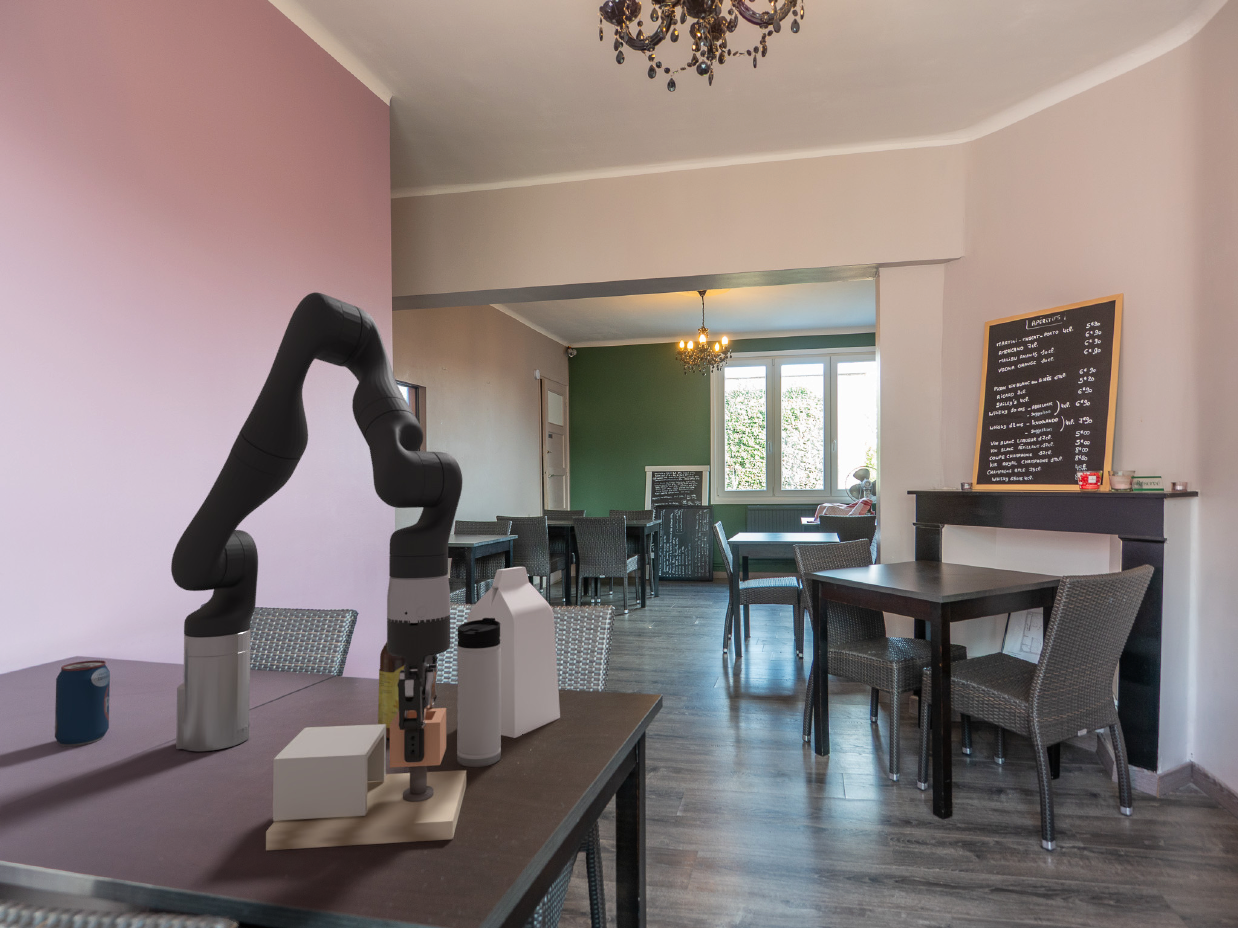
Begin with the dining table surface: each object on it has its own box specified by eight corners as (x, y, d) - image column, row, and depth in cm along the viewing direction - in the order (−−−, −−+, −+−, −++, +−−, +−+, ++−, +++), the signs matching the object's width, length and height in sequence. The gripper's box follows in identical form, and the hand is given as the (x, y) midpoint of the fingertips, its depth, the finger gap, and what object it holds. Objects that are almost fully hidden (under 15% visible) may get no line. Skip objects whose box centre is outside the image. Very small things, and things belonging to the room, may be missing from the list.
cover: (272, 820, 80) (273, 758, 81) (304, 781, 91) (305, 727, 92) (365, 815, 82) (365, 754, 82) (385, 777, 93) (385, 723, 93)
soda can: (118, 736, 117) (119, 661, 117) (70, 750, 110) (72, 671, 111) (92, 730, 119) (94, 657, 120) (44, 743, 113) (46, 666, 114)
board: (265, 850, 78) (266, 789, 79) (309, 793, 93) (310, 742, 94) (452, 838, 81) (452, 780, 81) (466, 785, 96) (466, 735, 96)
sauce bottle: (406, 741, 113) (406, 614, 113) (370, 739, 114) (370, 613, 115) (425, 728, 119) (426, 607, 120) (391, 726, 120) (391, 606, 121)
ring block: (389, 767, 85) (389, 724, 85) (399, 750, 90) (399, 709, 91) (440, 764, 85) (440, 722, 86) (446, 747, 91) (446, 707, 91)
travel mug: (509, 753, 107) (509, 618, 108) (487, 769, 101) (487, 626, 102) (472, 749, 109) (472, 616, 110) (448, 764, 103) (448, 623, 104)
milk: (514, 737, 114) (514, 573, 115) (461, 725, 120) (462, 569, 121) (560, 717, 124) (559, 566, 126) (509, 707, 131) (508, 563, 132)
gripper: (399, 604, 95) (398, 733, 95) (374, 623, 81) (373, 775, 80) (456, 603, 96) (456, 730, 95) (442, 621, 82) (442, 772, 81)
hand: (418, 750), depth 88 cm, fingers closed on ring block, 5 cm apart
